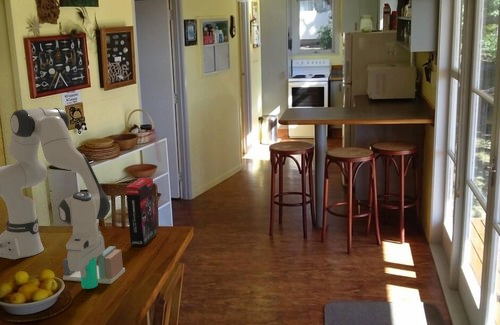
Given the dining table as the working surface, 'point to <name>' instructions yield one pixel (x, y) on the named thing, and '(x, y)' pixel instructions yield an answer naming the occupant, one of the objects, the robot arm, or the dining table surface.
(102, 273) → the white base with blocks
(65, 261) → the bookend
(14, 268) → the dining table surface
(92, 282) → the candle
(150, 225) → the graphics card box
